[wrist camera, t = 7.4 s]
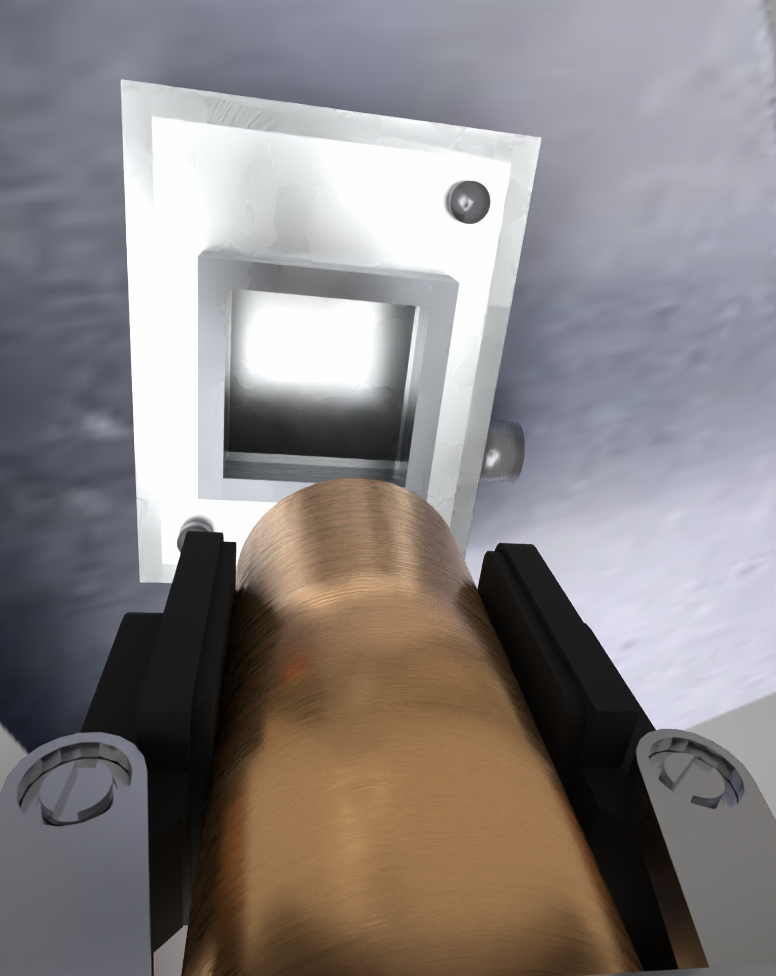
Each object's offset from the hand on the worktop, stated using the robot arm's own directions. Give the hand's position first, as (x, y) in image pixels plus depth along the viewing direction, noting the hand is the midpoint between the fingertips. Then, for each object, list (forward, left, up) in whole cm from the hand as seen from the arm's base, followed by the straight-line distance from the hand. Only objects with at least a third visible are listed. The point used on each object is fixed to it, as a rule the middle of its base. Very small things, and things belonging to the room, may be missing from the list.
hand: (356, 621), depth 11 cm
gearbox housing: (0, 0, -18) cm, 18 cm away
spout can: (0, 0, -1) cm, 1 cm away
